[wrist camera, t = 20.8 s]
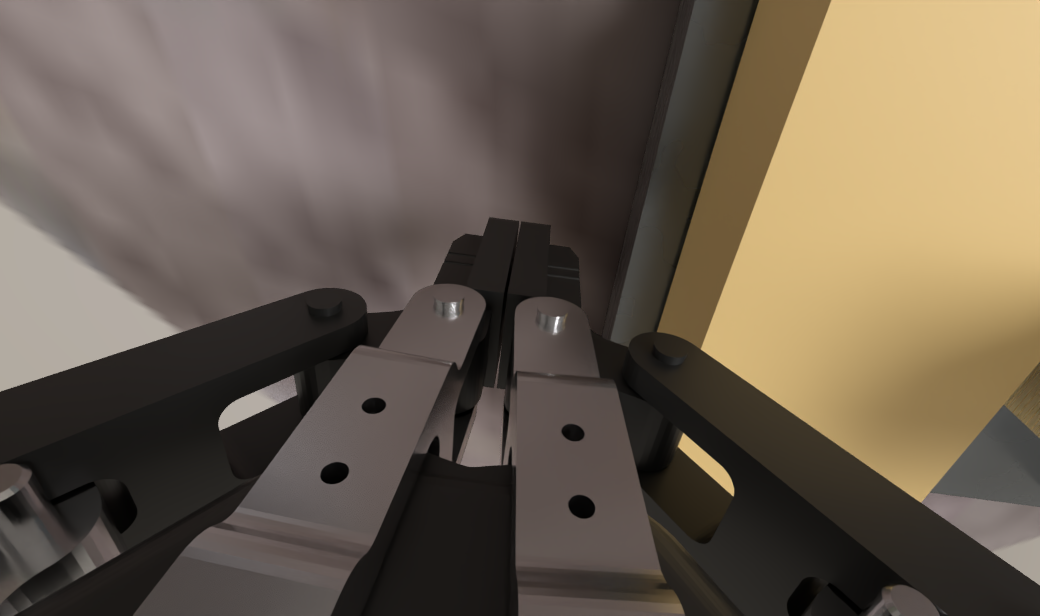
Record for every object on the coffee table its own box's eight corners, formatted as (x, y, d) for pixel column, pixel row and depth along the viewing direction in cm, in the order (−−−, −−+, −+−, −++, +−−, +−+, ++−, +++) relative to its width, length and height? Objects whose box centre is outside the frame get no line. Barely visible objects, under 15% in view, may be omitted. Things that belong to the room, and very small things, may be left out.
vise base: (582, 416, 19) (587, 536, 15) (710, -126, 11) (806, -206, 6) (1103, 485, 19) (1256, 625, 15) (1658, -10, 10) (2395, -13, 6)
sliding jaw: (624, 435, 17) (636, 520, 14) (780, -69, 10) (866, -95, 7) (827, 462, 17) (878, 553, 14) (1139, -24, 10) (1372, -33, 7)
